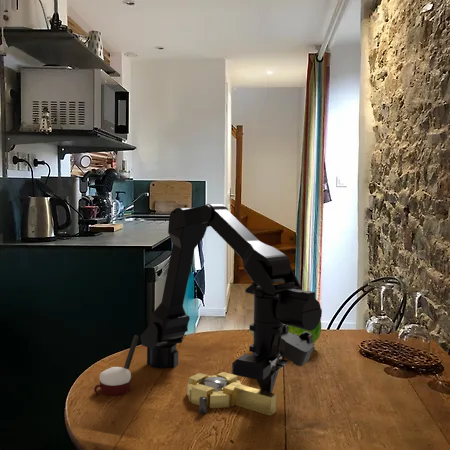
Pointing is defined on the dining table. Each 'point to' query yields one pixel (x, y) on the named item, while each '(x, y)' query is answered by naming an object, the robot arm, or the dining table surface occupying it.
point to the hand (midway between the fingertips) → (267, 398)
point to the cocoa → (117, 376)
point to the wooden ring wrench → (230, 394)
